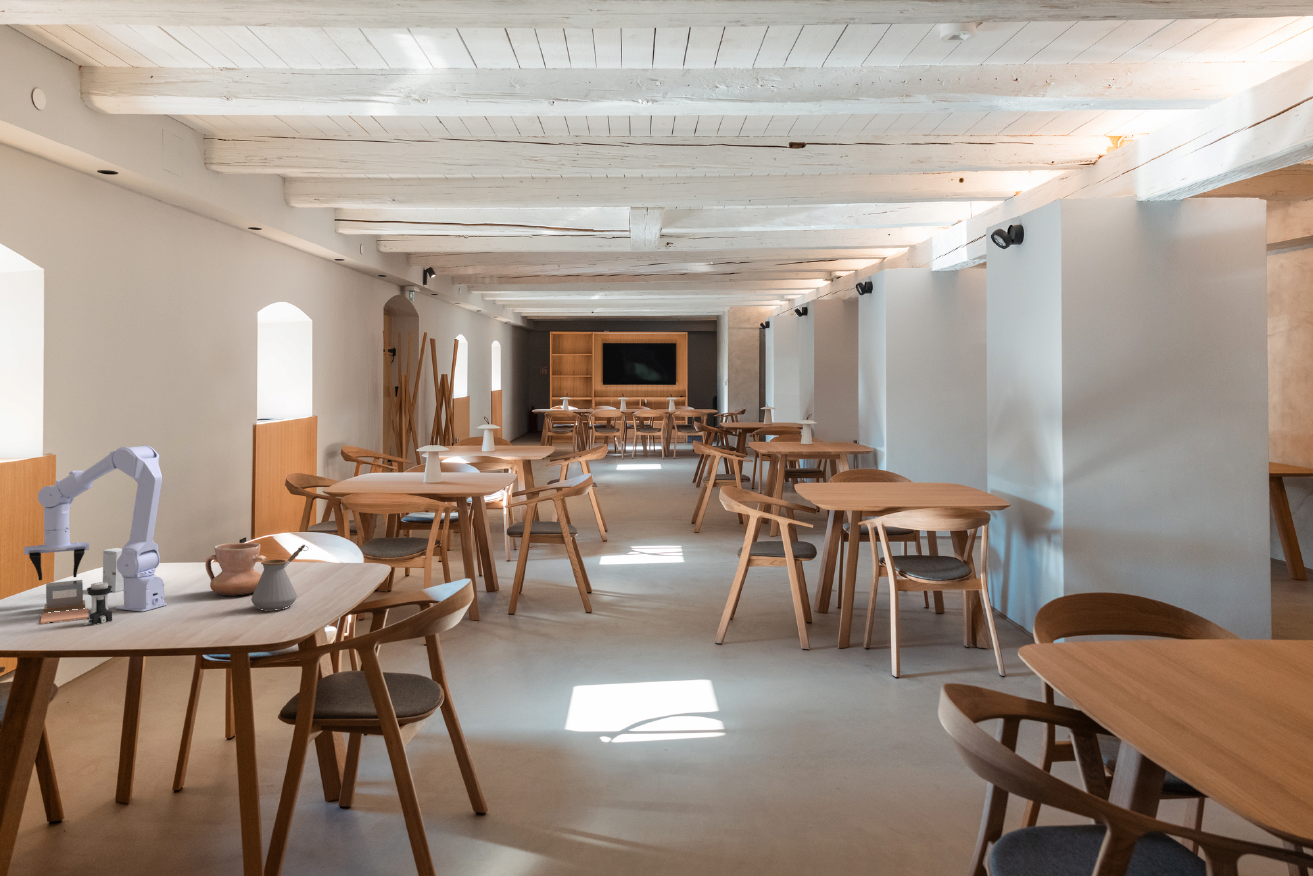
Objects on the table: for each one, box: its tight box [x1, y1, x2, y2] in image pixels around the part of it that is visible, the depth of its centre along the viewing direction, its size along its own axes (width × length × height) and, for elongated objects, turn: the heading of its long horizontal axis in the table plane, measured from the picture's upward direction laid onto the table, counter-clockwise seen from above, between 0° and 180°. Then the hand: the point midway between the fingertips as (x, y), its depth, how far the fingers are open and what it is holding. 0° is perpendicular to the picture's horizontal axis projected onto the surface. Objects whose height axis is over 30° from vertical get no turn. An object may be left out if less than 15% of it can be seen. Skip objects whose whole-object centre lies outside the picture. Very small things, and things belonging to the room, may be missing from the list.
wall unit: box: [43, 579, 86, 613], centre depth 226 cm, size 6×9×7 cm, turn 125°
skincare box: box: [102, 547, 124, 593], centre depth 249 cm, size 6×4×12 cm
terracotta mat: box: [40, 607, 89, 625], centre depth 218 cm, size 10×10×1 cm
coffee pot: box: [250, 544, 309, 610], centre depth 235 cm, size 21×12×15 cm, turn 172°
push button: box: [82, 581, 113, 625], centre depth 213 cm, size 7×5×10 cm
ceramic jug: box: [204, 542, 267, 597], centre depth 247 cm, size 18×14×14 cm
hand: (57, 578), depth 230 cm, fingers open, 7 cm apart
